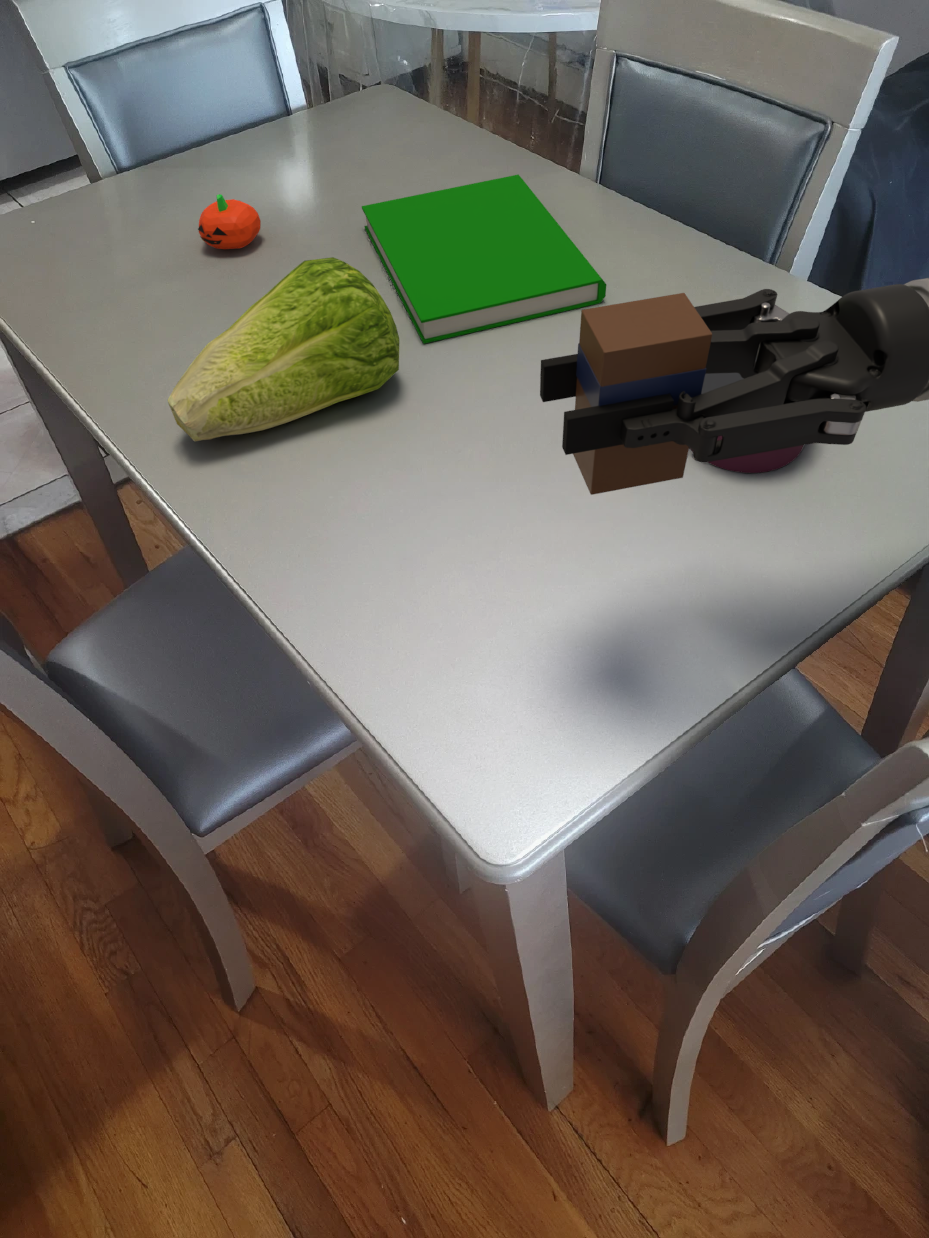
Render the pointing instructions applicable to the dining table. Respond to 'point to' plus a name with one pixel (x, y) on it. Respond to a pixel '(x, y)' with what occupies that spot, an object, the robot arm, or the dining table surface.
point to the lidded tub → (753, 461)
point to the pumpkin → (228, 224)
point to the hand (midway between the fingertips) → (553, 406)
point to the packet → (638, 380)
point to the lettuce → (290, 354)
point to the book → (479, 258)
